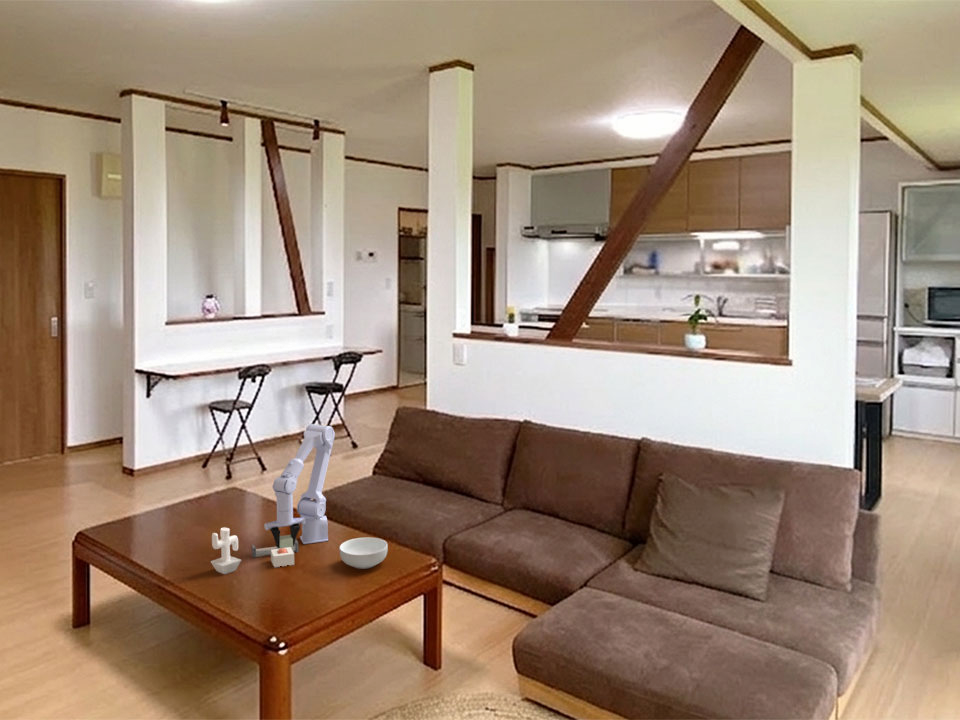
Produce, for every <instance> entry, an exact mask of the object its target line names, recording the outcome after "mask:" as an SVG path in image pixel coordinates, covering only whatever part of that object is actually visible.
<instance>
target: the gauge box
mask: <svg viewBox="0 0 960 720" xmlns="http://www.w3.org/2000/svg"><path fill="white" fill-rule="evenodd" d="M280 549H282V548H280ZM285 549H286V552H287V553H282V554H278V550H279V549H273V550H271V555H270V562H271V564H272V566H274V567H273V568H280V566H282V567H287V565H289V566H295V552H293V550H292V548H291V547H288V548H285Z"/></svg>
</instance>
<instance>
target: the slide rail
mask: <svg viewBox="0 0 960 720" xmlns="http://www.w3.org/2000/svg"><path fill="white" fill-rule="evenodd" d="M273 549H280V548H277V547H276V546H271V547H262V548H261V547H260V548H257V547H256V545H255V544H251V556H252V558H253V559H254V558H255V559H256V558H257V557H266V556H271V550H273ZM293 552H294V553H299V541H298V539H297V538H296V539H295V544H294V545H293ZM265 555H266V556H265Z"/></svg>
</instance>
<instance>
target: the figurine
mask: <svg viewBox="0 0 960 720" xmlns="http://www.w3.org/2000/svg"><path fill="white" fill-rule="evenodd" d="M219 531H220V535H218V533H216V532H212V533H211V546H212V548H213V549H214V550H218V549H221V550H220V551H221V553H220V555H221V557H219V558H216V559H213V560H211V561H210V563H211V564H212V566H213V568H214V570H215V571H216V572H217V573H220V574H222V575H227V574H230V573H233V572H235V571H237V569H238V567H239V565H240V564H241V562H242V559H240V558H237V557H234V556H231V550H230V549H231V546H232V550H233V551H236V552H237V551H238V550H239V538H238V536H237V535H236V534H235V535H230V531H231V530H230V528H229V527H226V526H224V527H221V528H220V529H219ZM219 536H220V539H219Z"/></svg>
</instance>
